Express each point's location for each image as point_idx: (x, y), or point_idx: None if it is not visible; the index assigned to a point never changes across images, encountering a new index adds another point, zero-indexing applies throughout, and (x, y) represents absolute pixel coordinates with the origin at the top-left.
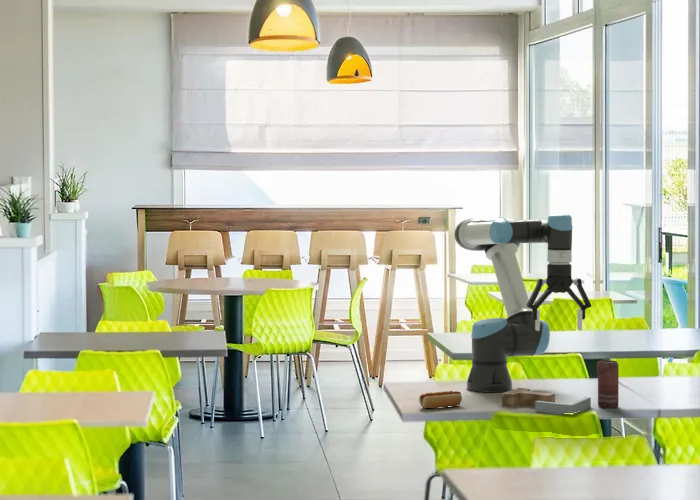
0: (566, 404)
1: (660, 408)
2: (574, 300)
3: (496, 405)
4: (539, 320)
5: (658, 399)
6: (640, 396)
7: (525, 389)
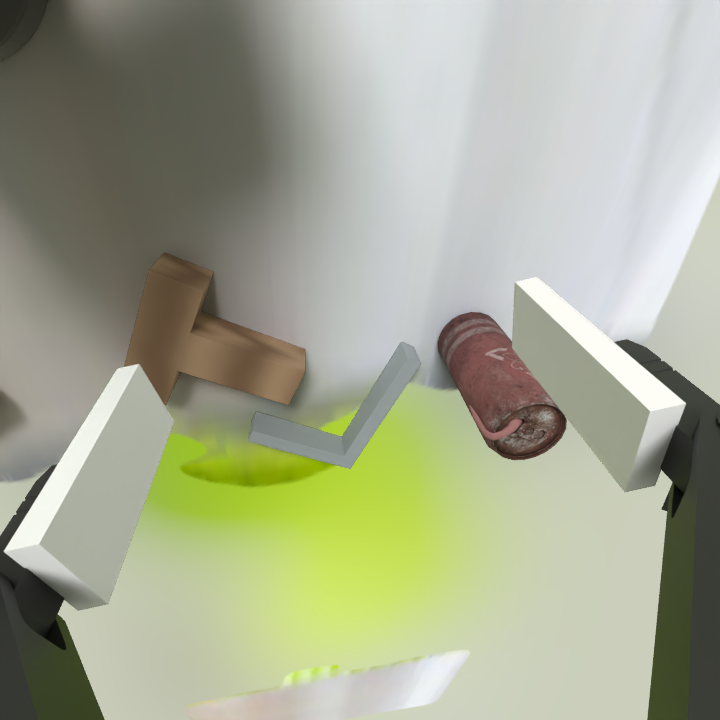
0: (337, 462)
1: None
2: (680, 582)
3: (111, 357)
4: (146, 494)
5: (685, 183)
6: (654, 117)
7: (187, 306)
